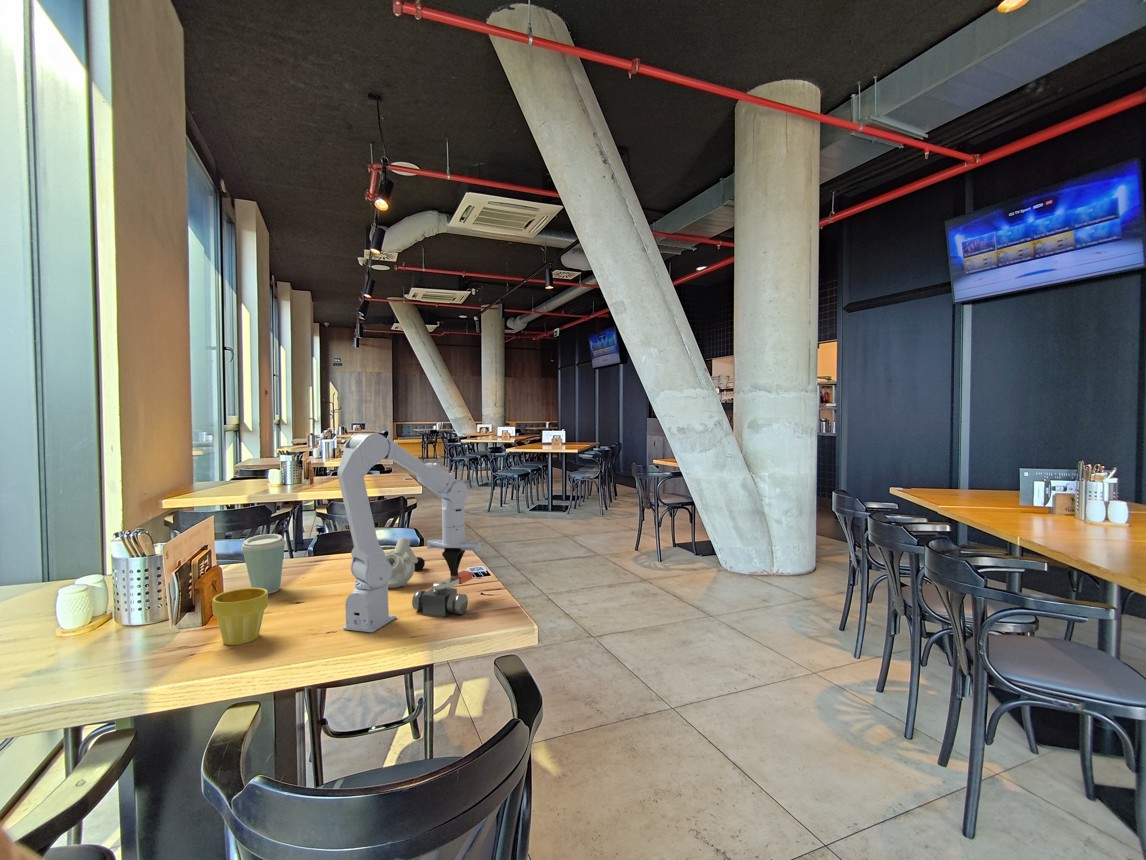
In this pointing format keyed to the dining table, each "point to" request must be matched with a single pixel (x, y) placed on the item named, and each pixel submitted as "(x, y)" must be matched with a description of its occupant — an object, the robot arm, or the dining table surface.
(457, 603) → the pipe valve
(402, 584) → the grey rounded housing
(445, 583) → the valve lever
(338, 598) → the dining table surface
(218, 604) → the plant pot
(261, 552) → the disposable coffee cup
